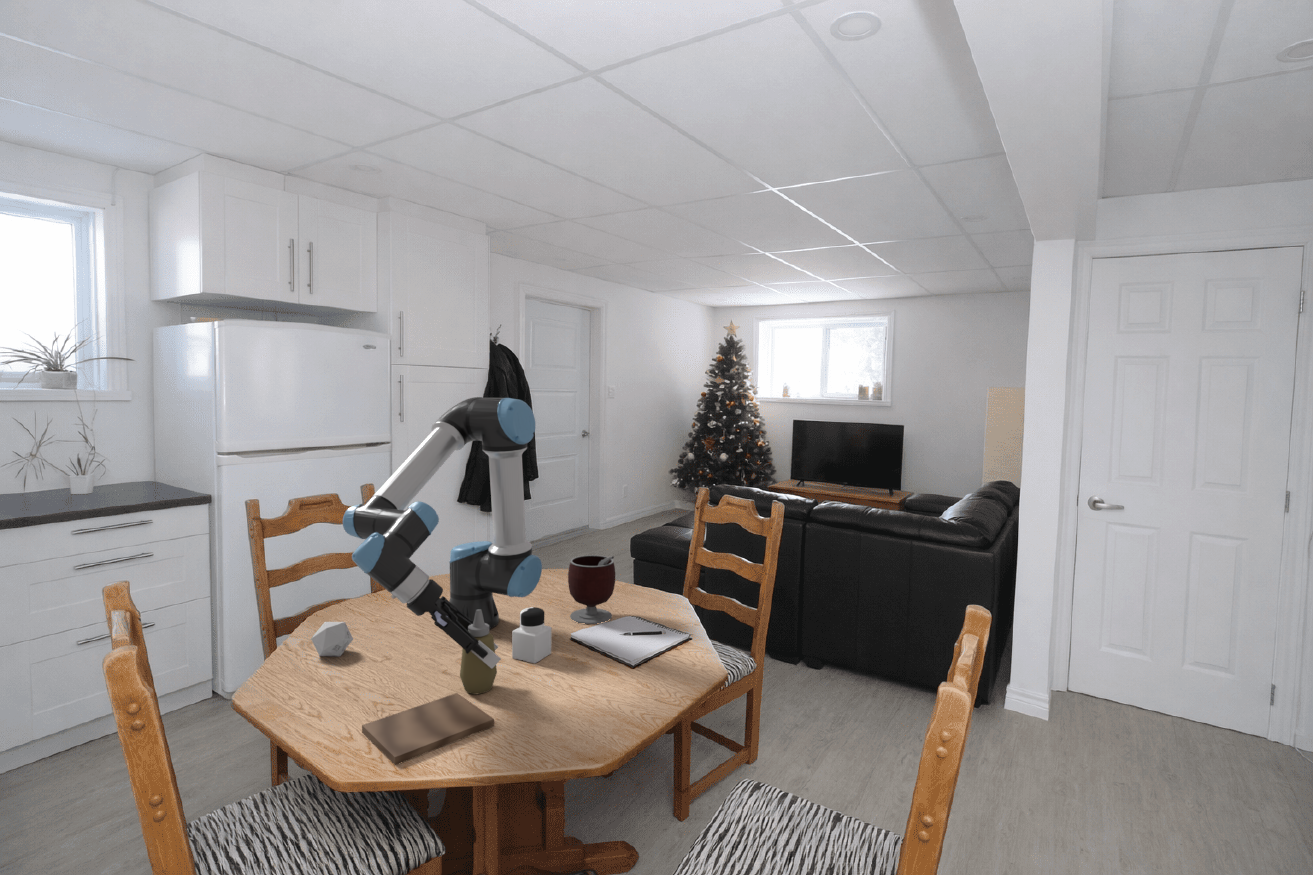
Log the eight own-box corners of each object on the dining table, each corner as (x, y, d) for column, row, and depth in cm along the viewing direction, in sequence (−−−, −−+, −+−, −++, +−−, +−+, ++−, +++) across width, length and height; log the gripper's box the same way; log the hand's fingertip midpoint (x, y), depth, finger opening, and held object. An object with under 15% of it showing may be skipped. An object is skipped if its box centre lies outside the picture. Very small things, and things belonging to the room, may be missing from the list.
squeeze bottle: (463, 680, 150) (464, 604, 148) (499, 680, 150) (500, 604, 149) (455, 697, 142) (456, 616, 140) (493, 696, 142) (494, 616, 141)
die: (325, 666, 157) (351, 631, 159) (297, 646, 158) (324, 611, 160) (340, 665, 164) (365, 631, 167) (314, 645, 166) (339, 612, 168)
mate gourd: (557, 617, 192) (558, 550, 191) (591, 606, 203) (592, 542, 201) (594, 630, 182) (595, 560, 181) (628, 618, 193) (629, 552, 191)
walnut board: (457, 699, 141) (457, 692, 140) (494, 725, 130) (494, 718, 130) (362, 732, 126) (362, 725, 126) (394, 765, 116) (394, 757, 116)
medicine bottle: (551, 653, 166) (552, 607, 165) (535, 664, 160) (535, 616, 159) (528, 648, 169) (529, 603, 168) (511, 658, 163) (511, 611, 162)
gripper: (407, 590, 149) (480, 652, 155) (401, 619, 130) (485, 688, 137) (431, 566, 150) (503, 628, 156) (429, 591, 132) (511, 661, 138)
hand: (494, 656), depth 146 cm, fingers closed on squeeze bottle, 6 cm apart
